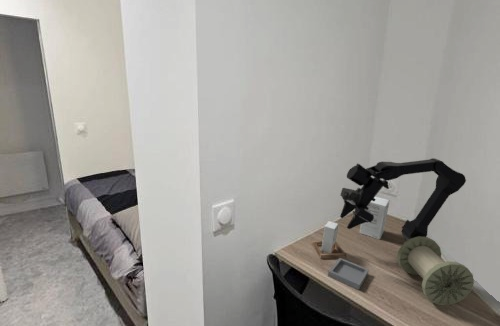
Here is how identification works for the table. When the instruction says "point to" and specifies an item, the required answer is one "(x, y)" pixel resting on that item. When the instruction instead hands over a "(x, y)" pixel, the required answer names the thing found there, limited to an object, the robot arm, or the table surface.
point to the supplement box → (376, 218)
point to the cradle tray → (348, 273)
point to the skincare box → (329, 237)
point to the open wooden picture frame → (331, 255)
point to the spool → (435, 271)
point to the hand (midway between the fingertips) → (344, 222)
